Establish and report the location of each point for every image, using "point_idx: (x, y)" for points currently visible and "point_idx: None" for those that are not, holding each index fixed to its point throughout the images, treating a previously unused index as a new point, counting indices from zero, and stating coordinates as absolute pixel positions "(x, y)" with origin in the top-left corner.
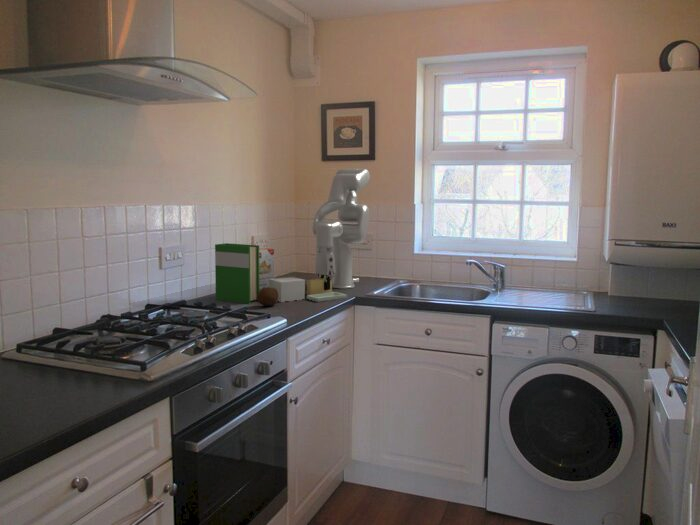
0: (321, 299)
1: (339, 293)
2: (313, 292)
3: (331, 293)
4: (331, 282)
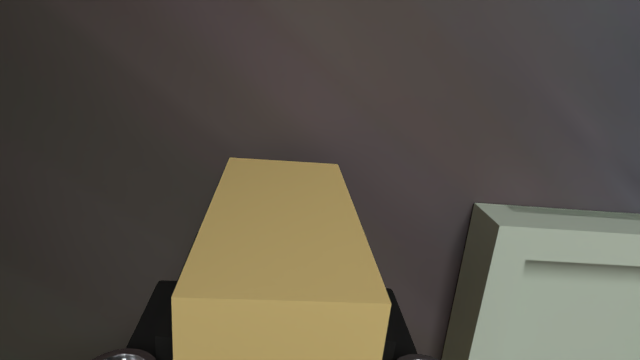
0: None
1: (626, 264)
2: None
3: (504, 318)
4: (364, 254)
